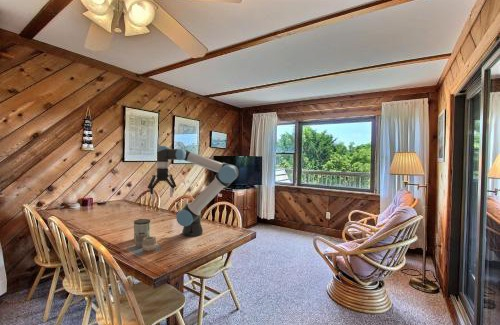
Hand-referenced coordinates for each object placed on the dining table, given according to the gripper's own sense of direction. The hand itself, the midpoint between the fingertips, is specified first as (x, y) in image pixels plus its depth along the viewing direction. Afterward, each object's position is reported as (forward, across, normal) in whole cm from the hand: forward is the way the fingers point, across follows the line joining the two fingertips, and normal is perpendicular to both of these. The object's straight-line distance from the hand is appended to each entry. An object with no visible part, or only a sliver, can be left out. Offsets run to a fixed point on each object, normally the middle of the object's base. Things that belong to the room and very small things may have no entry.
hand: (162, 197), depth 182 cm
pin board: (+29, +18, +16) cm, 37 cm away
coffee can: (+29, +13, -2) cm, 32 cm away
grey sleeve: (+28, +18, +10) cm, 34 cm away
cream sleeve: (+28, +18, +22) cm, 39 cm away
